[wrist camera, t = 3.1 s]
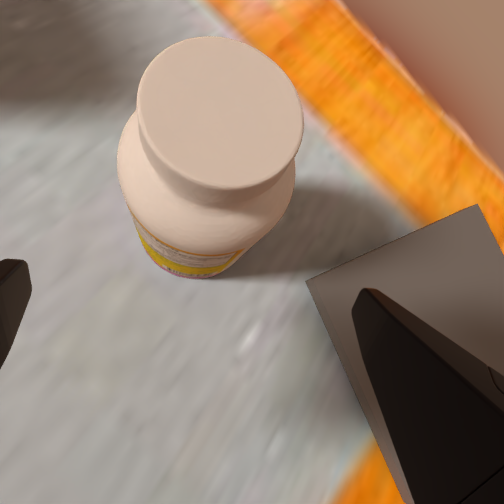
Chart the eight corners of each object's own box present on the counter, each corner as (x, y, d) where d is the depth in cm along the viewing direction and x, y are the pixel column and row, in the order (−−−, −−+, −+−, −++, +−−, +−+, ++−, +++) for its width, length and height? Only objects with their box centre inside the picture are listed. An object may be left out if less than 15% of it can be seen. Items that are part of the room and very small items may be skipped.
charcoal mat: (554, 388, 26) (572, 391, 25) (403, 501, 21) (417, 512, 20) (464, 208, 27) (477, 203, 26) (305, 281, 23) (312, 279, 21)
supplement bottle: (206, 161, 23) (252, -27, 10) (264, 242, 22) (380, 148, 10) (116, 213, 21) (40, 56, 8) (179, 302, 20) (197, 275, 8)
